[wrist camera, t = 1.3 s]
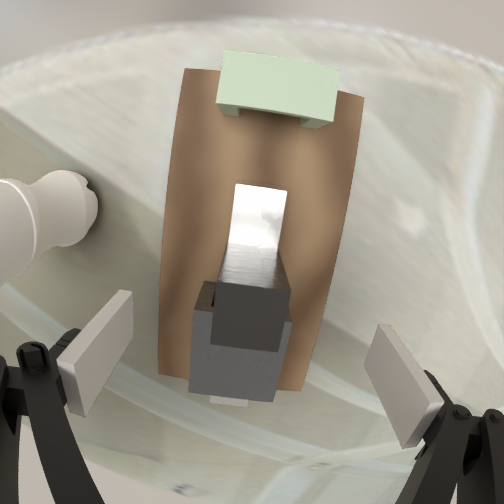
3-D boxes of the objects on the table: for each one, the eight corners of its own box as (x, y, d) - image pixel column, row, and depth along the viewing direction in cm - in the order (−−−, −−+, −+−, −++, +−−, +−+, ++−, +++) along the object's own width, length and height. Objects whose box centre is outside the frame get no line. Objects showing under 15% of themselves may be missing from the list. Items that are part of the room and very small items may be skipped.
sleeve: (197, 355, 32) (188, 391, 26) (204, 280, 30) (193, 309, 24) (269, 364, 32) (272, 401, 27) (284, 291, 30) (292, 322, 24)
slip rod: (212, 379, 33) (199, 464, 21) (236, 180, 27) (227, 195, 16) (248, 384, 33) (248, 469, 22) (283, 187, 27) (307, 207, 16)
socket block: (222, 114, 25) (215, 102, 20) (230, 71, 24) (225, 49, 18) (315, 129, 26) (333, 121, 20) (321, 86, 25) (340, 69, 19)
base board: (160, 368, 34) (158, 373, 33) (186, 71, 25) (184, 68, 24) (299, 385, 34) (300, 391, 33) (360, 99, 26) (364, 97, 25)
